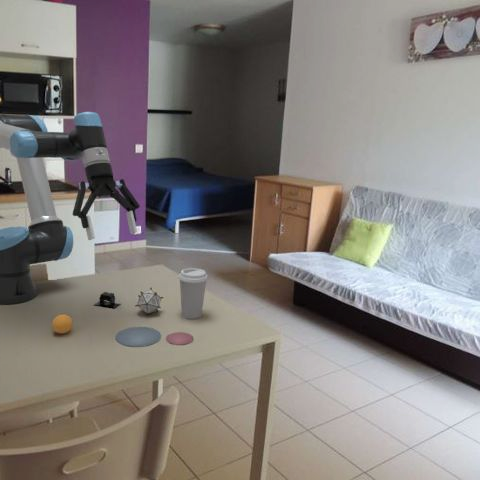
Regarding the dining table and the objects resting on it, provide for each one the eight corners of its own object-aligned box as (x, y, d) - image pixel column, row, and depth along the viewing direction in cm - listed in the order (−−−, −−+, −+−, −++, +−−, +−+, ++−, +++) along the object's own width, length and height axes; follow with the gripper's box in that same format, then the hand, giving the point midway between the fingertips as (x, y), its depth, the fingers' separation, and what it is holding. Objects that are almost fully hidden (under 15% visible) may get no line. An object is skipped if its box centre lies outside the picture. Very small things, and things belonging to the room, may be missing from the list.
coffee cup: (199, 308, 163) (201, 266, 160) (210, 318, 155) (212, 275, 152) (173, 311, 159) (174, 268, 156) (183, 322, 151) (184, 277, 147)
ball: (49, 336, 136) (49, 318, 135) (56, 328, 141) (56, 311, 140) (69, 337, 136) (68, 319, 135) (75, 329, 141) (74, 312, 140)
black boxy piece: (128, 305, 164) (129, 293, 162) (119, 313, 157) (119, 300, 156) (95, 300, 166) (95, 288, 165) (84, 307, 159) (84, 295, 158)
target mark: (110, 345, 133) (110, 344, 133) (121, 326, 145) (121, 325, 145) (157, 348, 133) (157, 347, 133) (163, 328, 146) (163, 327, 146)
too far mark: (164, 344, 136) (164, 343, 136) (167, 332, 143) (167, 331, 143) (192, 345, 136) (192, 345, 136) (194, 333, 144) (194, 333, 144)
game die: (147, 321, 159) (151, 292, 163) (166, 318, 155) (170, 289, 159) (127, 314, 153) (132, 284, 157) (146, 311, 148) (151, 281, 152)
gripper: (60, 162, 128) (77, 239, 127) (140, 160, 145) (156, 228, 144) (50, 170, 133) (66, 244, 132) (128, 167, 150) (143, 233, 149)
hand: (113, 236), depth 138 cm, fingers open, 13 cm apart
